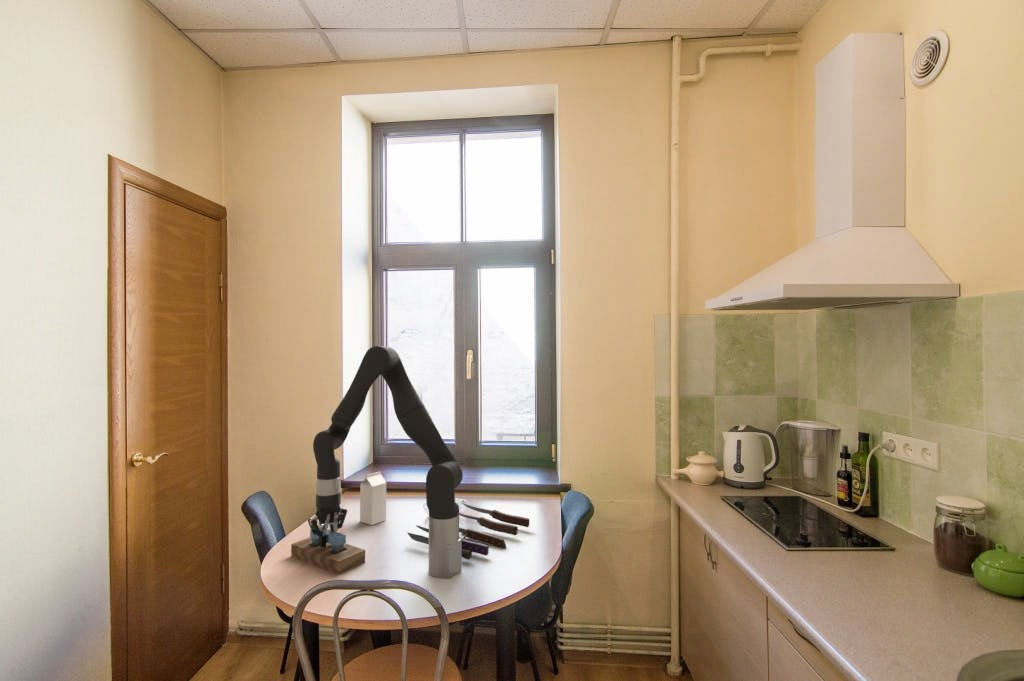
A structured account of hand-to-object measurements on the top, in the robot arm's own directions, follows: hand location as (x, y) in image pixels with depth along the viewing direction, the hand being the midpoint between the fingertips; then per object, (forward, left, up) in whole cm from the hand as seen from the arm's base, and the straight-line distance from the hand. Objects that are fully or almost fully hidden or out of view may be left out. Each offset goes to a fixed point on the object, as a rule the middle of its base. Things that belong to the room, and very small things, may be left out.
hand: (327, 544), depth 156 cm
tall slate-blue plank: (0, 0, -3) cm, 3 cm away
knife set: (-27, -39, -5) cm, 48 cm away
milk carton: (+15, -32, -5) cm, 36 cm away
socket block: (0, 0, -5) cm, 5 cm away
